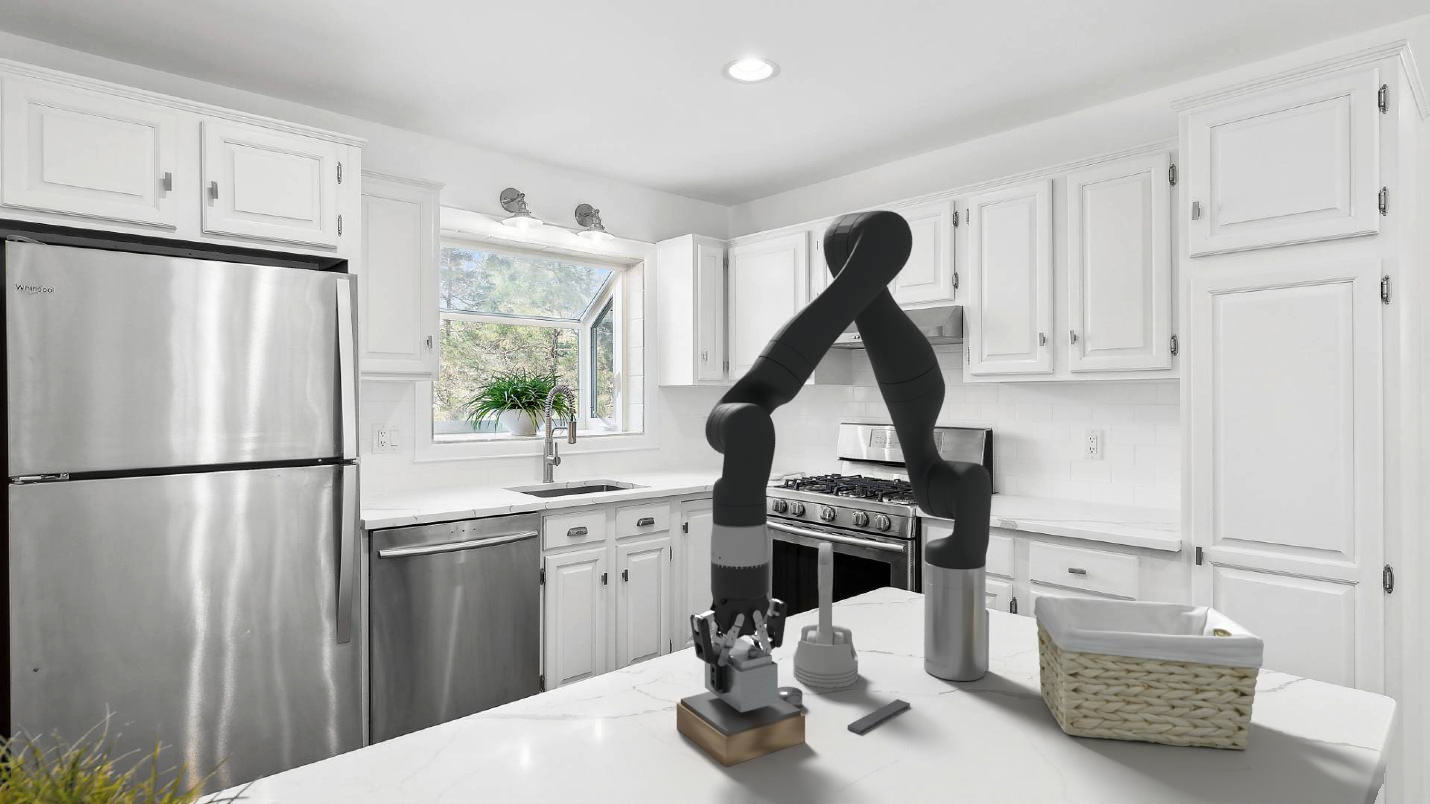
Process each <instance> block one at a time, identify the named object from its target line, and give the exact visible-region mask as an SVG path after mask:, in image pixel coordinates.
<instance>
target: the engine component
mask: <svg viewBox="0 0 1430 804" xmlns="http://www.w3.org/2000/svg"><path fill="white" fill-rule="evenodd" d="M833 550H834V548H833V543H831V542H820V543H819V547H818V556H817V557H818V558H817V559H818V560H817V561H818V562H817V563H818V564H817V582H818V583H817V590H818V624H810V625H809V624H808V625H804V626H803V627H802V628H801V635H800V640H799V641H798V643H797V647H796V649H795V650H794V651H793V653H792V654H793V655H792V665H793V666H792V667H793V668H792V670H793V671H792V675H794V676H793V678H794V679H795V678H796V679H795V680H796V681H798V680H799V681H801V682H802V684H804V683H805V684H804V685H807V684H808V685H807V686H810V687H815V686H817V687H816V688H822V687H826V688H825V689H831V688H832V689H834V688H833V687H837V688H842V686H844V687H848V686H851V685H853V684H854V683H856V682H857V681H856V680H858V679H859V666H858V665H859V657H858V654H857V652H856V649H855V646H854V642H853V639H852V638H853V633H852V631H851V629H850V628H848V627H844V626H840V625H837V624H836V625H834V624H833V583H834V582H833V581H834V580H833V579H834V551H833ZM799 681H798V682H799ZM855 681H856V682H855ZM801 682H800V683H801ZM852 683H853V684H852ZM850 684H851V685H850ZM828 687H830V688H828Z"/></svg>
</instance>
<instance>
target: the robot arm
mask: <svg viewBox="0 0 1430 804" xmlns="http://www.w3.org/2000/svg"><path fill="white" fill-rule="evenodd" d="M912 233H913V232H912V230H911V227H910V225H909V223H908V221H907V219H905V218H904V216H902V215H901V214H900V213H898V212H895V211H891V210H870V211H864V212H863V211H862V212H853V213H847V214H846V213H845V214H842V215H839V216H837V217H835V218H833V219H832V220H831V221H830V222H829V224H828V225H827V227H826V229H825V232H824V235H823V243H822V247H823V255H824V260H825V261H826V265H827V267H828V271H829V272H830V273H831V276H832V278H833V280H831V282H830V283H829V284H828V285H827V286H826V287H825V288H824V289H823V290H822V291H821V292H820V293H819V294H818V295H816V296H815V297H814V298H813V299H811V300H810V301H809V302H808V303H807V304H806V305H804V306H803V307H801V308H800V310H798V311H797V312H795V313H794V314H793V315H792V316H790V317H789V318H788V319H787V320H786V321H785V322H784V323H783V324H782V325H781V327H780V328H779V329H777V331H775V333H774V334H773V336H772V337H771V338H770V340H769V341H768V343H767V344H766V346H765V347H764V349H763V350H761V352H760V353H759V354H758V356H757V358H756V359H755V360H754V363H753V364H752V366H751V367H750V368H749V370H748V371H747V372H746V373H745V374H744V375H743V376H741V378H739V379H738V380H737V381H736V383H734V385H732V387H730V388H729V390H727V392H725V394H724V395H723V396H721V398H720V399H719V400H718V401H717V402H716V404H715V406H714V407H713V408H712V410H711V411H710V413H709V415H708V417H707V421H706V423H705V437H706V440H707V442H708V445H709V446H710V447H711V448H712V449H713V450H714V451H716V452H717V453H719V454H722V455H723V463H722V464H723V465H722V472H721V477H719V478H717V480H716V481H715V482H714V484H713V487H712V526H711V527H712V528H711V535H710V591H711V592H710V593H711V596H712V602H711V606H710V608H709V610H708V611H705V612H703V613H701V614H698V613H696V612H693V613H692V614H691V615H690V617H689V621H690V627H691V633H692V637H693V638H692V639H693V644H694V651H695V655H696V658H698V659H699V660H701V661H703V662H704V663H705V662H706V663H708V664H710V684H711V686H712V687H713V688H714V690H715V691H716V692H718V693H720V694H724V693H726V692H727V665H725V663H726V661H727V658H728V655H729V652H730V649H732V648H733V647H734V644H735V641H736V639H737V638H742V637H745V636H748V637H749V639H750V640H751V641H750V642H751V644H752V645H754V646H755V647H757V648H759V649H761V650H763V651H765V652H767V653H768V654H770V655H771V653H772V651H773V650H774V649H775V648H777V649H778V648H779V649H780V648H781V647H782V646H783V644H784V643H783V642H784V636H785V635H784V634H785V627H786V620H787V615H788V614H787V613H788V604H787V602H785V601H783V600H780V599H779V598H776V597H775V598H774V597H772V598H771V599H769V598H768V596H767V595H768V594H769V591H770V539H769V532H768V501H767V498H768V497H767V496H768V495H767V488H768V484H769V480H770V477H771V473H772V467H773V462H774V458H775V457H774V456H775V451H776V430H775V425H774V421H773V419H772V417H771V415H772V413H774V412H775V410H776V409H777V408H779V407H781V406H782V405H786V404H788V403H790V402H791V401H792V400H794V399H795V398H796V397H797V395H798V394H799V393H800V391H801V389H802V388H803V387H804V385H805V384H806V382H807V381H808V380H809V378H810V377H811V376H812V373H813V372H814V371H815V369H816V368H817V366H819V363H820V362H821V361H822V360H823V358H824V357H825V355H826V354H827V353H828V351H829V350H830V349H831V347H832V346H833V345H834V343H835V342H836V341H837V340H838V339H839V337H840V336H841V335H842V334H843V333H844V332H845V331H846V330H847V329H848V327H849V326H850V325H851V324H852V323H853V322H854V323H855V326H856V329H857V331H858V333H859V336H860V339H861V342H862V344H863V347H864V349H865V352H866V353H867V357H868V359H869V362H870V365H871V368H872V370H873V374H874V377H875V380H876V383H877V386H878V388H879V391H880V393H881V396H882V399H883V401H884V403H885V406H886V408H887V410H888V413H889V416H890V419H891V422H892V424H893V427H894V430H895V433H896V436H897V439H898V442H899V446H900V448H901V451H902V453H901V454H902V456H903V460H904V464H905V467H906V468H905V469H906V472H907V476H908V480H909V485H910V487H911V492H912V494H913V498H914V500H915V503H916V504H917V506H918V508H919V509H920V510H921V512H922V513H924V514H926V515H928V516H931V517H933V518H939V519H944V520H945V519H946V520H954V523H953V530H952V533H951V534H950V535H948V536H945V537H941V538H937V539H933V540H931V541H928V542H927V543H926V544H925V546H924V614H923V615H924V617H923V618H924V620H923V621H924V626H923V627H924V629H923V630H924V637H923V638H924V639H923V641H924V642H923V647H924V648H923V650H924V651H923V653H924V654H923V667H924V670H925V671H926V672H927V673H929V674H930V675H933V677H937V678H939V679H944V680H949V681H956V682H959V681H962V682H968V681H969V682H970V681H976V680H979V679H981V678H984V676H985V675H986V672H987V671H989V670H990V663H989V662H990V612H989V610H987V609H986V606H987V605H986V600H987V599H986V597H987V596H986V588H987V587H986V586H987V585H986V579H987V576H986V573H987V571H986V569H987V566H986V563H987V561H986V560H987V552H988V547H989V542H990V529H991V528H990V526H991V525H990V524H991V511H992V493H993V490H992V481H991V476H990V474H989V472H988V470H987V468H986V467H985V466H984V465H983V464H980V463H977V462H972V461H971V462H970V461H958V460H948V459H947V460H946V459H945V460H944V459H943V458H942V456H941V455H940V454H939V450H938V448H937V445H936V442H935V434H934V433H935V432H934V431H935V427H936V423H937V421H938V418H939V415H940V413H941V410H942V407H943V404H944V401H945V397H946V384H945V382H946V381H945V380H944V375H943V373H942V370H941V367H940V364H939V361H938V358H937V355H936V353H935V351H934V347H933V346H932V344H931V343H930V341H929V340H928V338H927V337H926V336H925V334H924V333H923V332H922V331H921V330H920V328H919V327H918V326H917V324H915V323H914V322H913V320H912V319H911V318H910V317H909V316H908V315H907V314H906V312H904V311H903V309H902V308H901V307H900V305H898V303H897V302H896V300H895V299H894V296H893V295H892V293H891V291H890V290H889V287H888V285H890V283H891V282H893V280H894V279H895V278H896V277H897V276H898V275H899V274H900V272H901V271H902V270H903V268H904V267H905V266H906V264H907V262H909V261H908V260H909V258H910V257H911V253H912V249H913V234H912ZM766 615H767V617H766ZM765 617H766V623H765V624H766V626H765V624H764V619H765ZM713 622H714V623H715V627H714V630H713V632H712V636H711V631H712V629H713V625H712V623H713ZM725 635H726V636H727V637H726V638H725V639H724V636H725Z"/></svg>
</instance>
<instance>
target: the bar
mask: <svg viewBox="0 0 1430 804" xmlns="http://www.w3.org/2000/svg"><path fill="white" fill-rule="evenodd" d="M908 707H909V708H910V707H911V703H910V702H907V701H903V700H901V699H898V698H897V699H895V700H893V701H892V702H890V703H887V704H885V705H884V706H882V707H880V708H879V709H876V710H874V711H872V712H870V713H869V714H867V715H864V716H862V717H861V718H859V719H857V720H855V721H853V722H851V723H850V724H848V725H847V730H848V731H850V732H853V733H856V734H859V735H862V734H864V733H865V732H867V731H869V730H871V729H872V728H874V727H876V726H878V725H880V724H881V723H884V722H885V721H887V720H889V719H890V718H893V717H894V715H895V716H897V715H898V714H900V713H901V711H902V712H903V710H904V711H905V710H908V709H909V708H908ZM892 716H893V717H892ZM883 721H884V722H883Z"/></svg>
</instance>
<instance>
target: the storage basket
mask: <svg viewBox="0 0 1430 804" xmlns="http://www.w3.org/2000/svg"><path fill="white" fill-rule="evenodd" d="M1033 613H1034V616H1036V619H1035V621H1036V622H1035V623H1036V626H1037V629H1038V630H1037V632H1036V633H1037V637H1038V654H1039V657H1038V659H1039V663H1038V664H1039V667H1040V668H1039V682H1040V686H1039V687H1040V696H1041V697H1042V699H1043V701H1044V703H1045V704H1046V705H1047V708H1048V709H1049V711H1050V713H1051V714H1052V716H1053V718H1054V719H1055V720H1056V722H1057V725H1059V726H1060V728H1061V730H1062V731H1063V732H1064V733H1065V734H1066V735H1069V736H1070V735H1071V736H1076V737H1083V738H1085V737H1086V738H1102V739H1107V740H1108V739H1114V740H1121V741H1144V742H1148V743H1158V744H1163V745H1170V746H1176V747H1189V746H1193V747H1200V746H1201V747H1210V748H1215V749H1230V750H1231V749H1233V750H1246V749H1247V748H1248V743H1249V741H1248V738H1249V733H1250V731H1249V729H1250V727H1251V721H1252V715H1253V704H1254V701H1255V695H1256V688H1255V687H1257V683H1258V680H1257V677H1258V676H1259V672H1260V669H1261V668H1262V666H1263V662H1264V657H1263V654H1264V645H1265V644H1264V641H1263V639H1262V638H1261V637H1259V636H1257V635H1255V634H1254V633H1253V632H1252V631H1250V630H1249V629H1247V628H1245V627H1244V626H1242V625H1241V624H1240V623H1238V622H1236V621H1235V620H1232V619H1231V618H1229V617H1228V616H1226V615H1224V614H1222V613H1221V612H1219V611H1218V610H1217V609H1215V608H1212V607H1211V606H1199V605H1198V606H1197V605H1192V604H1186V603H1185V604H1184V603H1176V602H1175V603H1173V602H1172V603H1171V602H1159V601H1144V600H1143V601H1142V600H1140V601H1139V600H1125V599H1124V600H1120V599H1105V598H1091V597H1081V596H1080V597H1078V596H1045V597H1044V596H1037V597H1036V598H1035V599H1034V611H1033Z"/></svg>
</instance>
